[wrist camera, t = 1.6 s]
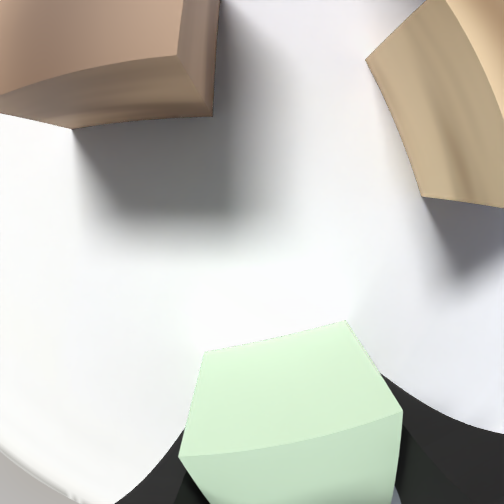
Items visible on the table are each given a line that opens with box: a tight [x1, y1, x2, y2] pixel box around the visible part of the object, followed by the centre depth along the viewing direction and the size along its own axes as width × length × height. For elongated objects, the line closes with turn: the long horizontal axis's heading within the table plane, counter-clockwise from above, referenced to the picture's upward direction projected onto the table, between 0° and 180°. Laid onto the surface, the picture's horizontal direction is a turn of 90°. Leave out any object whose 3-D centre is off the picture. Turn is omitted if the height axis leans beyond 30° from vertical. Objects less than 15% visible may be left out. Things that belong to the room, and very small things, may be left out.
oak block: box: [365, 0, 504, 208], centre depth 6 cm, size 5×5×5 cm
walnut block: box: [0, 0, 220, 129], centre depth 6 cm, size 5×5×5 cm
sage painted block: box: [178, 320, 403, 504], centre depth 9 cm, size 5×5×5 cm
